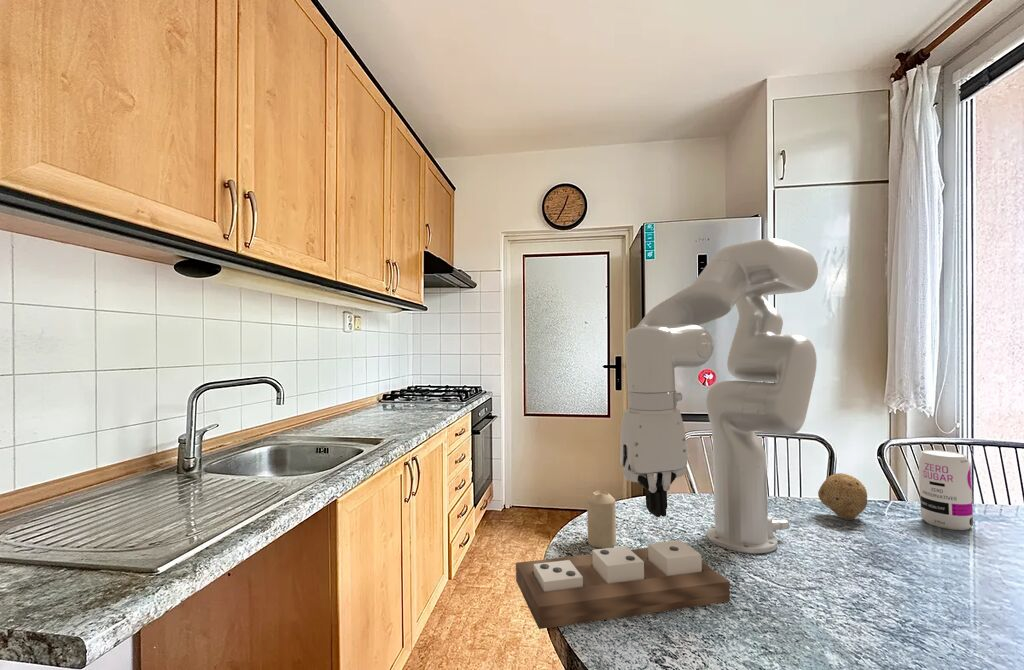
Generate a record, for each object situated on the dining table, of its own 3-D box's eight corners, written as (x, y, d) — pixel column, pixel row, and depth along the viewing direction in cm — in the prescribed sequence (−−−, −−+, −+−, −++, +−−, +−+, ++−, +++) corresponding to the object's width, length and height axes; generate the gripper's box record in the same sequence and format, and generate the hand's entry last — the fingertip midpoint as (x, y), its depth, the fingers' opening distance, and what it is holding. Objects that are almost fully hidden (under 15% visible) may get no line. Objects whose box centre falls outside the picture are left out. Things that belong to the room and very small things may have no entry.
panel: (678, 561, 85) (677, 544, 85) (730, 601, 72) (729, 581, 72) (516, 581, 79) (515, 562, 79) (538, 629, 65) (538, 607, 65)
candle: (616, 549, 91) (615, 496, 91) (587, 547, 92) (586, 495, 92) (615, 538, 96) (614, 488, 96) (588, 536, 97) (587, 487, 97)
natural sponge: (812, 517, 106) (810, 472, 106) (828, 509, 111) (827, 466, 112) (860, 529, 99) (858, 481, 99) (875, 520, 104) (873, 474, 104)
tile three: (569, 578, 77) (569, 558, 77) (583, 597, 71) (582, 576, 71) (533, 583, 75) (533, 563, 75) (544, 602, 69) (544, 580, 70)
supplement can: (967, 521, 103) (963, 451, 103) (978, 534, 96) (974, 459, 96) (918, 515, 107) (915, 448, 107) (925, 526, 100) (922, 455, 100)
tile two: (626, 564, 79) (626, 545, 79) (644, 581, 73) (643, 560, 73) (592, 568, 78) (592, 548, 78) (607, 586, 72) (607, 564, 72)
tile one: (680, 557, 81) (680, 539, 81) (701, 573, 75) (701, 553, 75) (648, 561, 80) (648, 542, 80) (667, 578, 74) (667, 557, 74)
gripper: (680, 396, 83) (685, 501, 83) (600, 402, 80) (605, 511, 80) (706, 401, 75) (711, 516, 75) (618, 408, 72) (624, 528, 72)
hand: (657, 513), depth 77 cm, fingers closed
